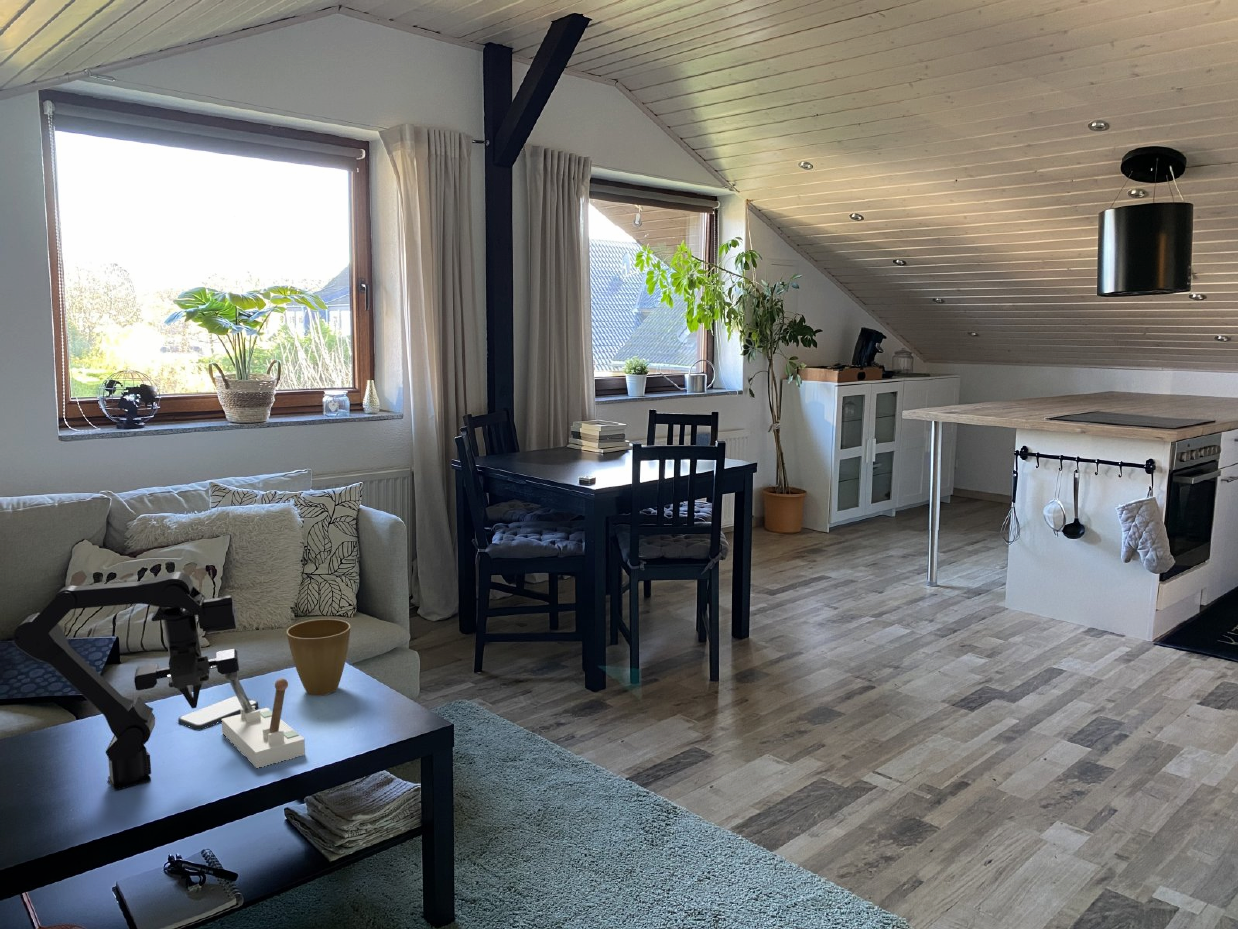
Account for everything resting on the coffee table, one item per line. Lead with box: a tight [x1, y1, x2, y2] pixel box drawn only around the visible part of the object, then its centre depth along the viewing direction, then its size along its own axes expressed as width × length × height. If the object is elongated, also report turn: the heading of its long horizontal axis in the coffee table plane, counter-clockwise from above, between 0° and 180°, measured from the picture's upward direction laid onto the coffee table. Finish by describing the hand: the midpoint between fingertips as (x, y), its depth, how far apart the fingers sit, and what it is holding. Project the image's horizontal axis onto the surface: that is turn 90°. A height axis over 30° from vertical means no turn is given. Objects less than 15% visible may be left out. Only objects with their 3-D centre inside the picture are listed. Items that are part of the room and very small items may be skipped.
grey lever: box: [224, 671, 253, 713], centre depth 205 cm, size 3×3×12 cm
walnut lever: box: [269, 678, 289, 733], centre depth 197 cm, size 3×3×12 cm
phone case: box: [177, 695, 259, 730], centre depth 219 cm, size 9×2×16 cm
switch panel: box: [221, 706, 306, 769], centre depth 202 cm, size 10×22×6 cm, turn 39°
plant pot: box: [286, 618, 351, 697], centre depth 232 cm, size 15×15×16 cm
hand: (194, 707), depth 190 cm, fingers closed
